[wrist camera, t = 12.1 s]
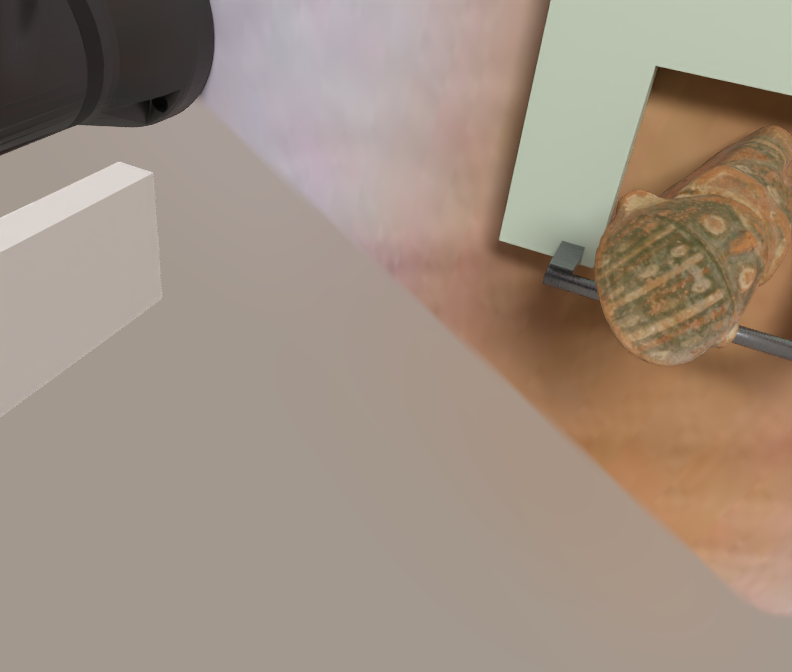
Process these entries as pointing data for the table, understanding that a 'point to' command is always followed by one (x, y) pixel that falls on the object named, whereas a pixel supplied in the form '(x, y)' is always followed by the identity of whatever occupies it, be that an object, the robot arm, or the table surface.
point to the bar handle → (566, 279)
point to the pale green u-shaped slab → (622, 100)
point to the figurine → (697, 251)
